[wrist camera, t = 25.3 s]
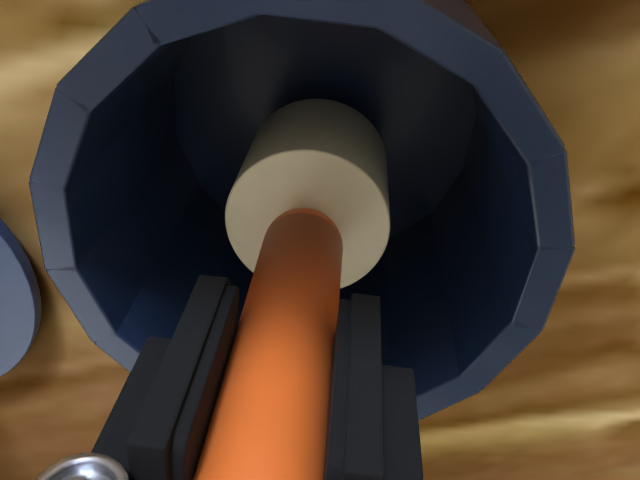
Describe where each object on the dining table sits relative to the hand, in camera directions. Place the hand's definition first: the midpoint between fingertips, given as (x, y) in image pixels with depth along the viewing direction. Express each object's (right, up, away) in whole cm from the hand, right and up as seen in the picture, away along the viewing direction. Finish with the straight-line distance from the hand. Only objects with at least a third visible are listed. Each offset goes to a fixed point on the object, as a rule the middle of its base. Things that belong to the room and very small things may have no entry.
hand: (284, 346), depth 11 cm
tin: (+1, +6, +9) cm, 12 cm away
